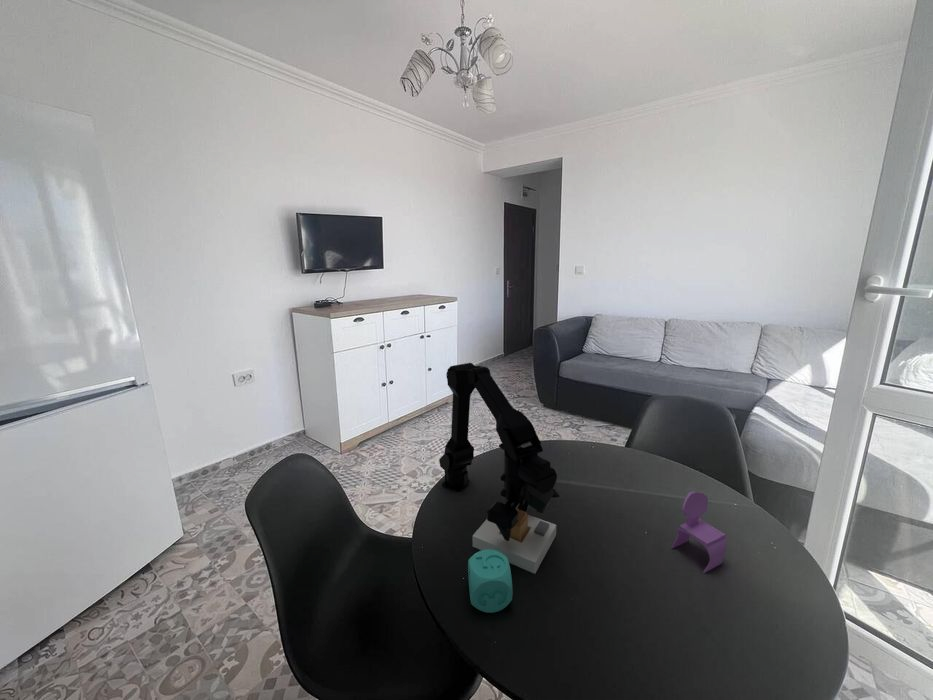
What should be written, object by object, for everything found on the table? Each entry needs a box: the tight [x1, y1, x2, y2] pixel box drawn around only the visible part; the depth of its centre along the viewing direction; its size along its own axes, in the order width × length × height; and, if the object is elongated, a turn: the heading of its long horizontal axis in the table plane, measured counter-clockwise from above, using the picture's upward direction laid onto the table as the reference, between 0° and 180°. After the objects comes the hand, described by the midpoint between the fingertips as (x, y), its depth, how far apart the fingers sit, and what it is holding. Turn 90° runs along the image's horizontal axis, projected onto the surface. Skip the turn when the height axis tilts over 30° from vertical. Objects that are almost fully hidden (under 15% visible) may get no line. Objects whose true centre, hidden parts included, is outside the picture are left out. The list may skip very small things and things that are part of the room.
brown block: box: [510, 508, 529, 543], centre depth 92 cm, size 5×5×7 cm
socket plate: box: [472, 514, 558, 575], centre depth 92 cm, size 16×14×4 cm
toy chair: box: [670, 491, 727, 574], centre depth 85 cm, size 8×9×15 cm
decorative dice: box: [467, 549, 513, 614], centre depth 77 cm, size 8×8×8 cm
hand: (515, 528), depth 92 cm, fingers open, 9 cm apart
